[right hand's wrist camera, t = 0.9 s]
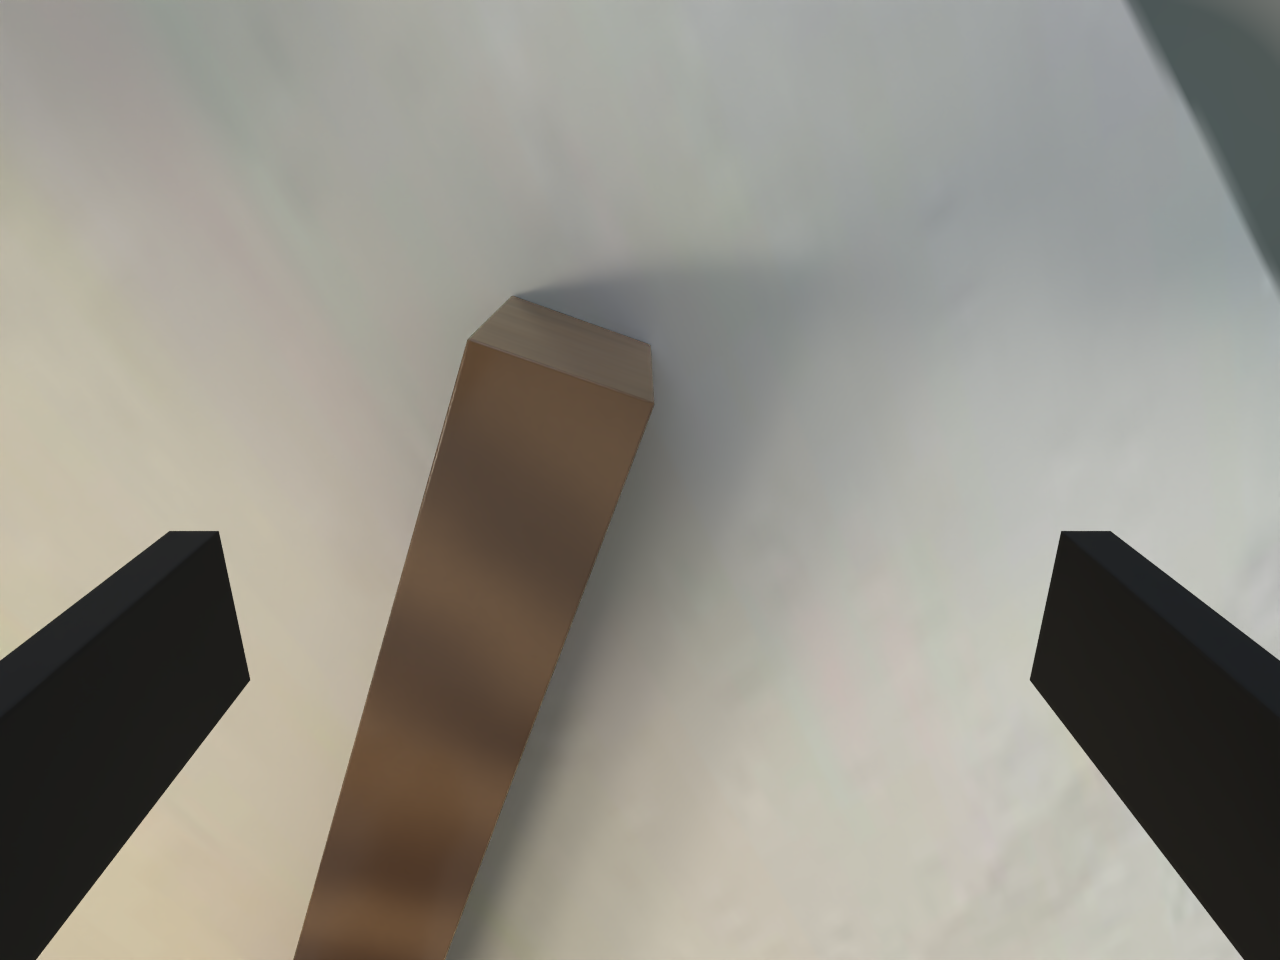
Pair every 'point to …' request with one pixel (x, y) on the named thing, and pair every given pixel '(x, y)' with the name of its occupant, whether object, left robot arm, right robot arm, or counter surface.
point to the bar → (477, 625)
